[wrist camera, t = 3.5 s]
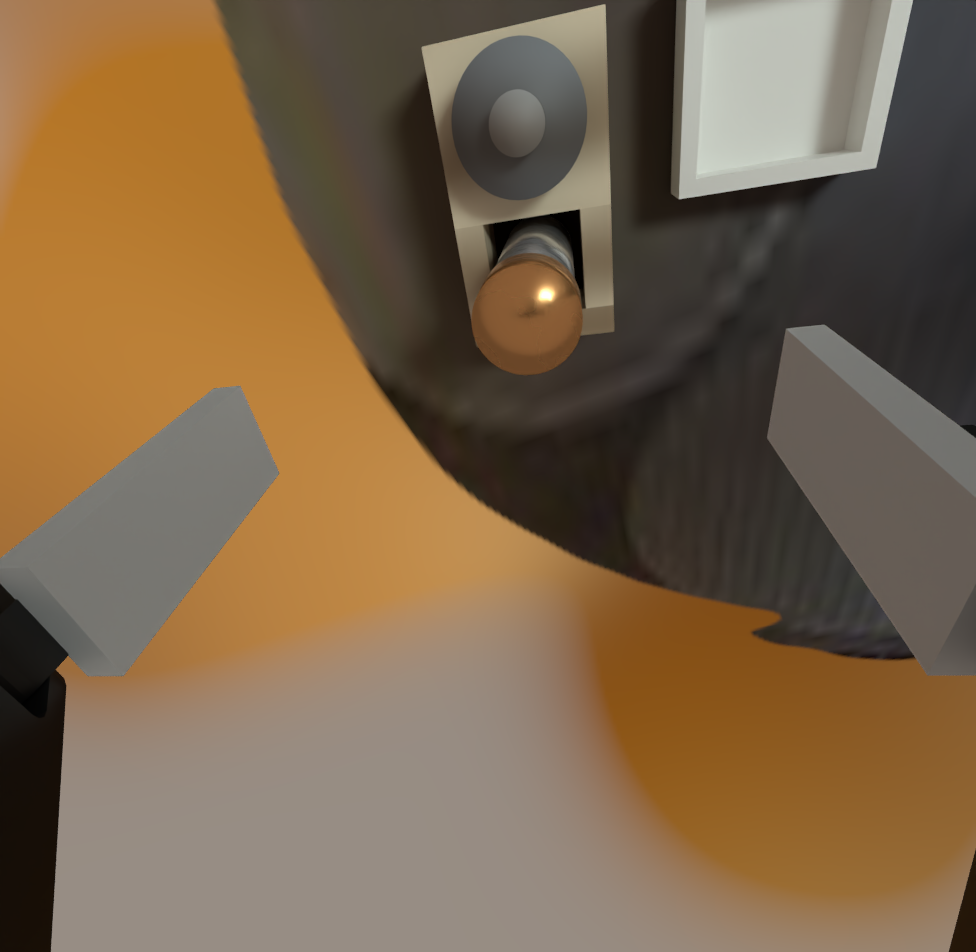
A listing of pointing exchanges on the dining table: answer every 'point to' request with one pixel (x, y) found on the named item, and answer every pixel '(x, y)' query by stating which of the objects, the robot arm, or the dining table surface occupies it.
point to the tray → (780, 89)
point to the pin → (530, 300)
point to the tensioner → (528, 141)
